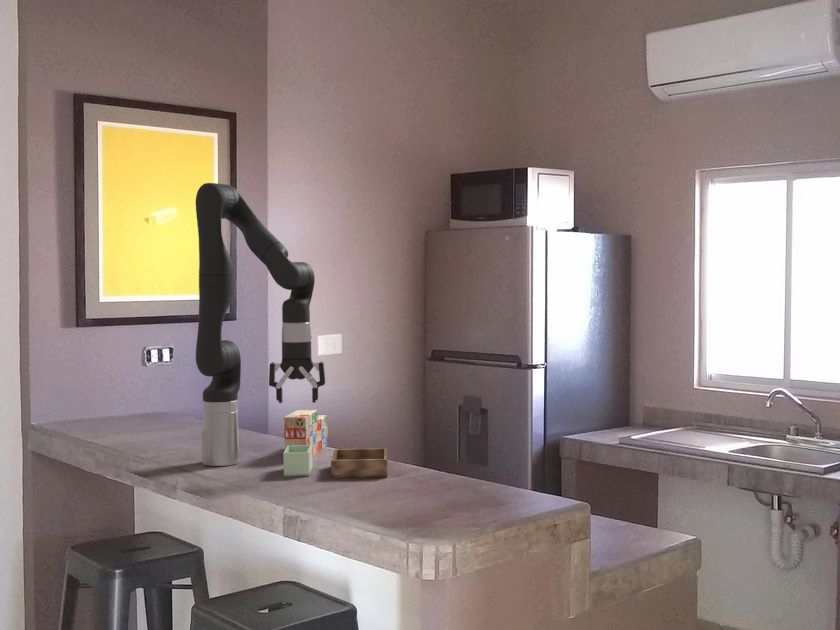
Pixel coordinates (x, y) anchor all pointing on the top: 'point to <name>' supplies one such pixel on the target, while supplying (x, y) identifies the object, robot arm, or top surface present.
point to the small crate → (297, 460)
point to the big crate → (359, 463)
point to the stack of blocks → (306, 429)
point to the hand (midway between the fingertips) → (297, 402)
